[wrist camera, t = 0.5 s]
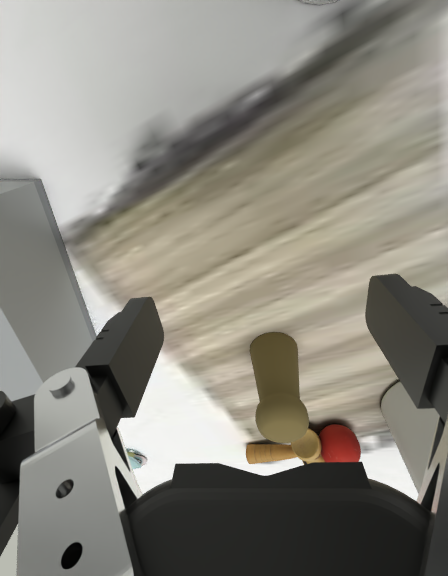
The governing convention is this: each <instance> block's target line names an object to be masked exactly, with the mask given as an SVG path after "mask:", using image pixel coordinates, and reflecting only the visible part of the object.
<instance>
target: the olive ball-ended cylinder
mask: <svg viewBox="0 0 448 576" xmlns="http://www.w3.org/2000/svg"><path fill="white" fill-rule="evenodd" d="M250 354H251V359H252V364H253V369H254V374H255V379H256V384H257V389H258V394H259V399H260V403H259V404H258V406H257V410H256V424H257V427H258V429H259V431H260V433H261V434H262V435H263V436H264V437H265V438H266V439H268V440H270V441H273V442H277V443H290V442H294V441H296V440H298V439H300V438H302V437H303V436H304V435H305V434H306V432H307V429H308V426H309V418H308V413H307V409H306V407H305V405H304V404H303V403H302V401H301V400H300V394H299V371H298V348H297V344H296V342H295V341H294V339H293V338H291V337H290V336H288V335H286V334H283V333H278V332H271V333H265V334H263V335H260V336H258V337H257V338H256V339H255V340H253V342H252V344H251V345H250Z"/></svg>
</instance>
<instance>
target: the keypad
mask: <svg viewBox="0 0 448 576" xmlns="http://www.w3.org/2000/svg"><path fill="white" fill-rule="evenodd" d="M94 340H96V334H95V331H94V328H93V326H92V323H91V320H90V317H89V314H88V311H87V309H86V306H85V303H84V300H83V297H82V294H81V292H80V289H79V286H78V283H77V280H76V277H75V275H74V272H73V269H72V266H71V263H70V261H69V258H68V255H67V252H66V249H65V246H64V244H63V241H62V238H61V235H60V232H59V229H58V227H57V224H56V221H55V218H54V215H53V212H52V210H51V207H50V204H49V201H48V198H47V196H46V193H45V190H44V187H43V184H42V181H41V180H25V179H0V390H1V391H3V392H4V393H5V394H6V395H7V397H8V398H9V399H10V400H11V401H14V400H18V399H21V398H24V397H27V396H31V395H34V394H36V392H37V390H38V389H39V387H40V386H41V385H42V384H43V383H44V382H45V381H46V380H48V379H49V378H50V377H52V376H53V375H55V374H57V373H59V372H61V371H63V370H66V369H69V368H75V366H76V365H77V363H78V362H79V361H80V359H81V358H82V356H83V355H84V354H85V352H86V351H87V349H88V348H89V347H90V345H91V344H92V343H93V341H94Z"/></svg>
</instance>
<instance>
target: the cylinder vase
mask: <svg viewBox="0 0 448 576" xmlns="http://www.w3.org/2000/svg"><path fill="white" fill-rule="evenodd" d="M381 411H382V414H383V416H384V418H385V421H386V423H387V425H388V427H389V430H390V432H391V434H392V436H393V438H394V441H395V443H396V445H397V447H398V449H399V452H400V454H401V456H402V458H403V460H404V463H405V465H406V467H407V469H408V472H409V474H410V476H411V478H412V480H413V483H414V485H415V487H416V489H417V491H418V494H419V492H420V489H421V486H422V482H423V478H424V475H425V470H426V466H427V462H428V458H429V453H430V449H431V445H432V441H433V437H434V432H435V428H436V424H437V421H438V418H439V416H440V415H439V414H438V413H437V411H436V410H435V408H430V409H417V408H416V406H415V404H414V403H413V401H412V400H411V398H410V396H409V395H408V393H407V391H406V390H405V388H404V387H403V385H402V383H401V382H400V381H399V382H398V383H396V384H395V385H394V386H392V387H391V388H390V389H389V390H388V391H387V392H386V394H385V395H384V397H383V399H382V402H381Z"/></svg>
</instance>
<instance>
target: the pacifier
mask: <svg viewBox="0 0 448 576" xmlns="http://www.w3.org/2000/svg"><path fill="white" fill-rule="evenodd" d="M127 454H128V457H129V460H130V463H131V466H132V469H136V468H141V466H143V465H145V464H146V462H147V460H146V458H144V457H143V456H139V455H136V454H134V453H130V452H127ZM136 459H138V460H140V461H141V462H138V461H137V460H136Z"/></svg>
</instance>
